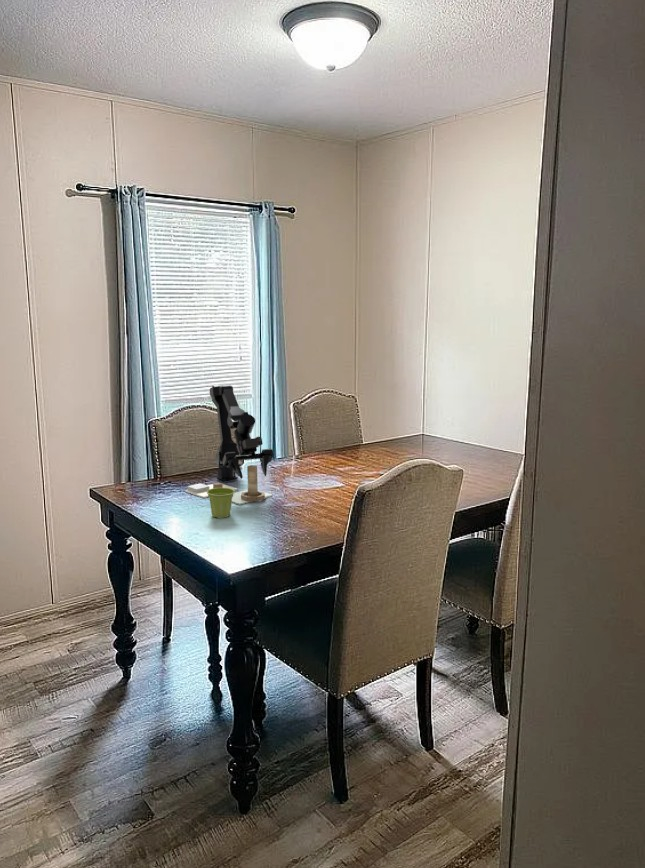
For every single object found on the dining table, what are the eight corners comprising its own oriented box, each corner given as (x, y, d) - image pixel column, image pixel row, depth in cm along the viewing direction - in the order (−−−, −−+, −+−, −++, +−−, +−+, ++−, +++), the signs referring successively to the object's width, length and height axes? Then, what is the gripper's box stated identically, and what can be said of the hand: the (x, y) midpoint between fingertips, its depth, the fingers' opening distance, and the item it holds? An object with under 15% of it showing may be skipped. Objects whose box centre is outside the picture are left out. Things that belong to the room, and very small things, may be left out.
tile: (218, 484, 270) (218, 475, 270) (237, 490, 262) (237, 481, 261) (185, 491, 259) (185, 482, 258) (204, 498, 251) (203, 488, 250)
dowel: (249, 496, 252) (249, 465, 249) (259, 496, 251) (258, 465, 248) (246, 498, 248) (245, 467, 246) (256, 499, 247) (255, 468, 245)
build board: (252, 490, 262) (252, 484, 262) (276, 497, 252) (276, 492, 252) (219, 498, 251) (219, 492, 250) (243, 506, 241) (243, 500, 241)
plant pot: (231, 510, 237) (230, 486, 235) (237, 518, 228) (237, 493, 226) (204, 513, 233) (204, 488, 232) (210, 521, 225) (209, 496, 223)
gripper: (224, 431, 244) (233, 467, 237) (272, 427, 252) (283, 462, 244) (218, 448, 253) (227, 483, 245) (265, 444, 261) (275, 478, 253)
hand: (253, 476), depth 247 cm, fingers open, 9 cm apart
